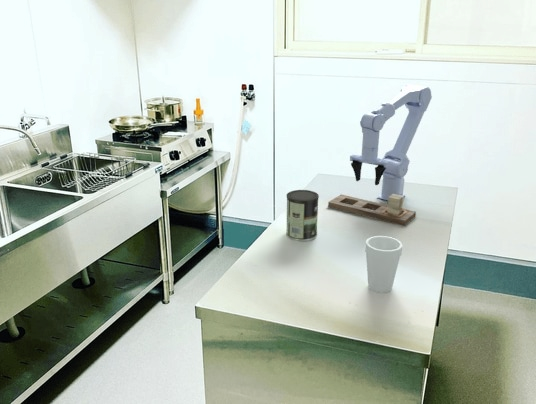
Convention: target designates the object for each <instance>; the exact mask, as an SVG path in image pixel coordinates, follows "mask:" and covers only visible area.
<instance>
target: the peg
mask: <svg viewBox="0 0 536 404" xmlns="http://www.w3.org/2000/svg"><path fill="white" fill-rule="evenodd" d="M404 197H405V196H401V195H396V194H392V195H391V196H389V197H388V200H387V205H388V206H387V213H389V214H393V215H398V216H399V215H401V214H402V209H403V204H404Z"/></svg>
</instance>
